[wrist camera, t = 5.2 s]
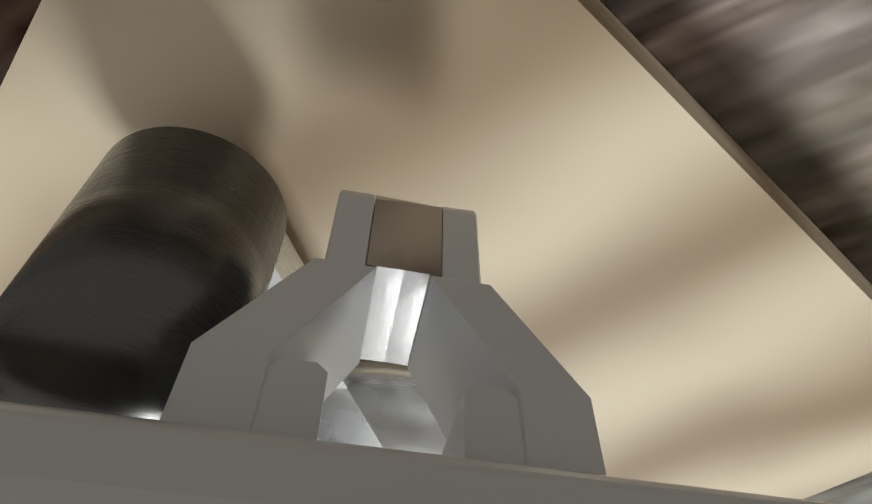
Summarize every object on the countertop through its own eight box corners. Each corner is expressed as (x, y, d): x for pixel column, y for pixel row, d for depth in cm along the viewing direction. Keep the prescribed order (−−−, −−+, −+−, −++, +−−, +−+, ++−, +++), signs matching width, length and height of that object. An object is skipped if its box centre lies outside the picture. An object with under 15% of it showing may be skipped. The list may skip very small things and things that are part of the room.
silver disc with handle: (557, 506, 19) (586, 718, 15) (301, 539, 20) (267, 740, 16) (402, 31, 10) (372, 256, 6) (-40, 154, 11) (-298, 398, 7)
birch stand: (946, 362, 18) (994, 426, 16) (426, 599, 29) (425, 652, 27) (257, -357, 9) (214, -370, 7) (-126, 393, 20) (-177, 455, 18)
